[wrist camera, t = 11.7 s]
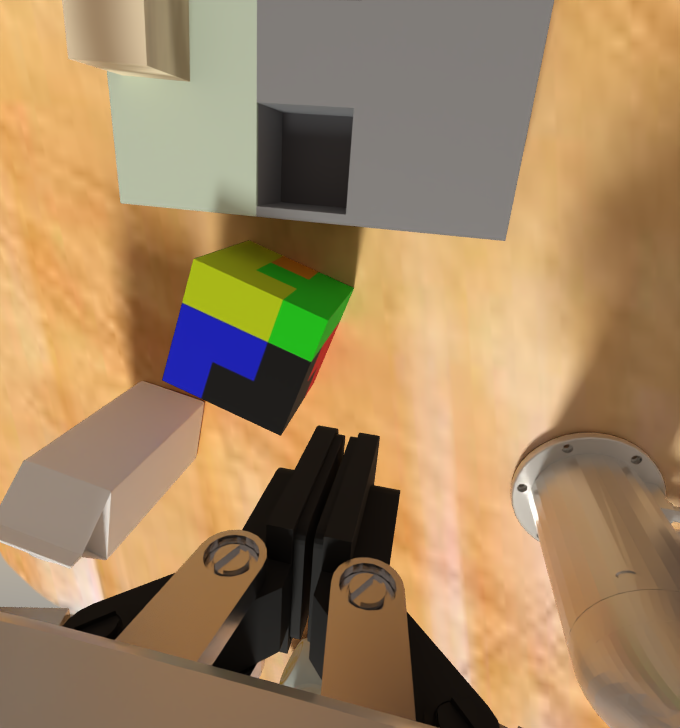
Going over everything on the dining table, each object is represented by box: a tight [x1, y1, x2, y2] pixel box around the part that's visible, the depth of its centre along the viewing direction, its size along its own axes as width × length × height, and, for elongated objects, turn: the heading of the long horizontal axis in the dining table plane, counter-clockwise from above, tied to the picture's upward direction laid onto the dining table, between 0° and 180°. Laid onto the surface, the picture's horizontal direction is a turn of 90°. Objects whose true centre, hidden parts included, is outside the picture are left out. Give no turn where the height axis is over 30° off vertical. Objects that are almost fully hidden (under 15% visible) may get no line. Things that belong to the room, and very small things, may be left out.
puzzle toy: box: [162, 240, 354, 436], centre depth 38 cm, size 10×10×10 cm
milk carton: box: [0, 381, 204, 568], centre depth 41 cm, size 7×7×19 cm
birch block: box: [62, 0, 190, 82], centre depth 28 cm, size 5×5×5 cm
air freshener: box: [279, 638, 322, 695], centre depth 53 cm, size 11×8×10 cm
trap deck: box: [107, 0, 554, 241], centre depth 32 cm, size 28×20×6 cm
